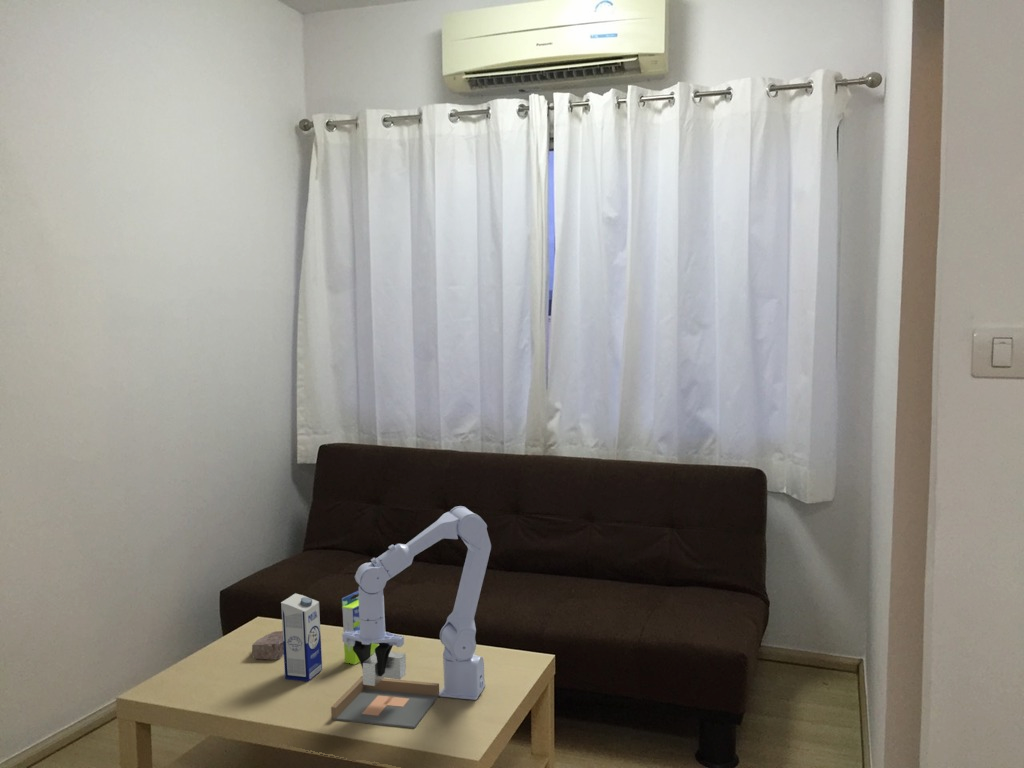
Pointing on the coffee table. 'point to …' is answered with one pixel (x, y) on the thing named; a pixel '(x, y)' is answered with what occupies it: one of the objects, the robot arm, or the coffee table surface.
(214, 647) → the coffee table surface
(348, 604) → the box
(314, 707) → the coffee table surface
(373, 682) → the l block
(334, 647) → the coffee table surface
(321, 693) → the coffee table surface
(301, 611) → the milk carton
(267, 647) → the stone
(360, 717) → the arena
